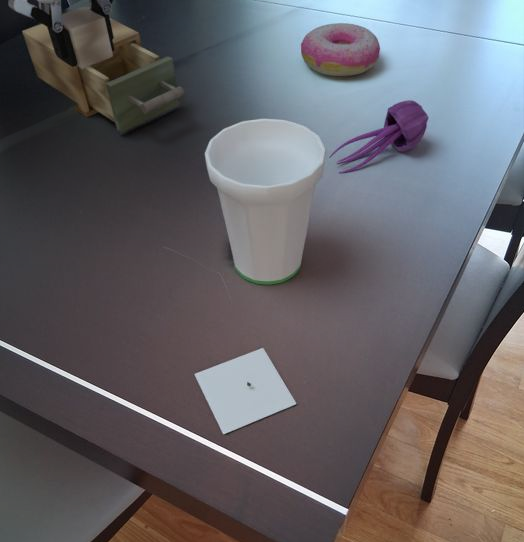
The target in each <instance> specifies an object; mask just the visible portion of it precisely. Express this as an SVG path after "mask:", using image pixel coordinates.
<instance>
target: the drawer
mask: <svg viewBox="0 0 524 542" xmlns="http://www.w3.org/2000/svg"><path fill="white" fill-rule="evenodd" d="M141 46H142V45H141ZM141 46H139V45H137V44H135V43H133V42H129V43H126V44H124V45H121V46H119V47H116V48H114V51H112V53H113V57H111V58H108V59H106V60H103V61H101V62H98V63H96V64H93V65H91V66H88V67H86V68H83V69H81V68H80V67H78V66H77V68H78V71H79V75H80V78H81V82H82V86H83V89H84V93H85V96H86V100H87V103H88V105H89V106H91V107H92V108H94V109H95V110H97V111H98V113H100V114H101V115H102V116H105V117H106V118H107V119H109V120H110V121H112V122H114V123H115V127H116V130H117V131H119V132H120V133H124V132H126V131H128V130H130V129H132V128H134V127H136V126H139V125H140V124H143V123H144V122H147V121H148V120H150V119H152V118H155V117H157V116H159V115H160V114H162V113H165V112H167V111H169V110H171V109H173V108H175V107H177V106H180V99H182V98H183V97H184V96H185V91H184V89H183V87H182V86H181V85H179V86H177V78H176V73H175V66H174V60H173V59H174V58H172V57H171V56H168V55H167V56H165V57H163V58H160V56H159V55H157V54H156V53H154V52H152V51H150V50H148V49H146V48H144V47H143V46H142V47H141Z"/></svg>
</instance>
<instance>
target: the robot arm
mask: <svg viewBox="0 0 524 542" xmlns="http://www.w3.org/2000/svg"><path fill="white" fill-rule="evenodd" d="M36 1H37V2H38V6H36V5H34V4H33V3H32V4H31V3H29V1H28V0H8V2H7V3H8V7H9V9H11V10H12V11H15V12H16V13H18V14H21V15H22V16H25V17H28V18H31V19H33V20H35V21H36V22H38V23H40V24H43V25H45V26H46V27H47V28H48V31H49V35H50V38H51V41H52V44H53V48H54V51H55V54H56V55H57V57H58V58H59V59H61V60H62V61H64V62H65V63H67V64H68V65H70V66H71V67H74V66H77V60H76V56H75V52H74V49H73V45H72V41H71V38H70V34H69V32H68V30H66V29H64V27H63V22H62V14H63V12H62V11H63V9H62V0H36ZM88 2H89V4H90V8H91V9H90V10H91V11H93V12H95V13H97V14H99V15H101V16H103V17H104V18H105V22H106V27H107V31H108V36H109V40H110V44H111V49H112V51H114V45H113V41H112V40H113V39H114V36H113V31H112V27H111V22H110V18H111V17H110V14H112V12H113V6H112V4H113V2H114V0H88Z"/></svg>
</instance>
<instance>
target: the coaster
mask: <svg viewBox="0 0 524 542" xmlns="http://www.w3.org/2000/svg"><path fill="white" fill-rule="evenodd" d="M194 377H195V379H196V381H197V383H198V385H199V387H200V390H201V391H202V394H203V396H204V398H205V401H206V402H207V404H208V406H209V408H210V410H211V412H212V414H213V416H214V418H215V421H216V422H217V424H218V427H219V428H220V431H221V433H222V435H226V434H227V433H231V432H232V431H235V430H237V429H240V428H243V427H245V426H247V425H250V424H252V423H254V422H257V421H259V420H262V419H265V418H266V417H269V416H272V415H273V414H276V413H278V412H281V411H283V410H285V409H288V408H291V407H293V406H295V405H297V402H296V400H295V398H294V397H293V395H292V393H291V392H290V390H289V389H288V387H287V385H286V383H285V382H284V380H283V379H282V377H281V375H280V374H279V372H278V370H277V368H276V367H275V365H274V364H273V362H272V360H271V358H270V357H269V354H268V353H267V352H266V350H265V348H264V347H261V348H259V349H256V350H253V351H251V352H248V353H245V354H243V355H240V356H238V357H235V358H233V359H229V360H227V361H224V362H222V363H220V364H217V365H214V366H212V367H208V368H207V369H204V370H201V371H199V372H196V373H194Z"/></svg>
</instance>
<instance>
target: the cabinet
mask: <svg viewBox="0 0 524 542" xmlns="http://www.w3.org/2000/svg"><path fill="white" fill-rule="evenodd" d="M86 8H88V9H91V7H89V6H87V7H86ZM109 18H110V22H111V27H112V31H113V36H114V39H113V40H112V41H113V45H114V48H116V47H119V46H121V45H124V44H126V43H129V42H133V43H135V44H137V45H139V46H141V47H142V48H143V46H142V41H141V37H140V33H139V32H138V31H136V30H135V29H132V28H130V27H128V26H126V25H124V24H122V23H120V22H119V21H116V20H115V19H112V18H111V17H109ZM21 32H22V36H23V38H24V41H25V44H26V47H27V50H28V54H29V56H30V58H31V62H32V64H33V65H32V66H33V67H34V71H35V74H36V76H37V78H38V79H40V80H42V81H44V82H45V83H46V84H48V85H49V86H51V87H52V88H54V89H55V90H57V91H58V92H60V93H62V94H63V95H64V96H66V97H68V99H70V100H72V101H74V102H75V103H76V104H75V105H73V106H71V108H72V109H73V110H75V111H76V112H78V113H80V114H81V115H83V116H84V117H85V118H89V117H92V116H93V115H96V114H97V113H99V112H98V111H97V110H95V109H94V108H92V107H91V106H89V105H88V103H87V100H86V96H85V93H84V89H83V86H82V82H81V78H80V75H79V71H78V68H77V66H74V67H71V66H70V65H68V64H67V63H65V62H64V61H62V60H61V59H59V58H58V57H57V55H56V54H55V51H54V48H53V44H52V41H51V38H50V35H49V31H48V28H47V27H46V26H45V25H43V24H42V23H40V24H37V25H35V26H32V27H29V28H26V29H24V30H21Z"/></svg>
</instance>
